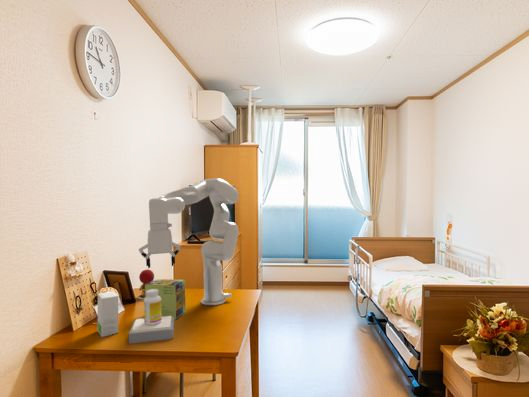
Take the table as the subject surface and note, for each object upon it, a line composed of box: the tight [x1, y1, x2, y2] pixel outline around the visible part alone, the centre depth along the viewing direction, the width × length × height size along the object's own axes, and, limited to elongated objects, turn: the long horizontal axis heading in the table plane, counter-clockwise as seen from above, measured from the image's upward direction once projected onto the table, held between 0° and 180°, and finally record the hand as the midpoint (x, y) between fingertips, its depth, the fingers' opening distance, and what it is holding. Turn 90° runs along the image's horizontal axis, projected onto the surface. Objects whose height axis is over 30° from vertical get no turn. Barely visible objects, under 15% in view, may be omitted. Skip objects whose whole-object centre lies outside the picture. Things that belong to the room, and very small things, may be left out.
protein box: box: [145, 278, 187, 321], centre depth 155 cm, size 10×15×16 cm
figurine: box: [136, 269, 155, 301], centre depth 183 cm, size 9×10×15 cm
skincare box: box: [97, 290, 119, 338], centre depth 136 cm, size 8×7×16 cm
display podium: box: [128, 316, 175, 345], centre depth 133 cm, size 16×14×4 cm
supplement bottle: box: [143, 289, 162, 325], centre depth 133 cm, size 7×7×13 cm
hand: (161, 266), depth 143 cm, fingers open, 9 cm apart
